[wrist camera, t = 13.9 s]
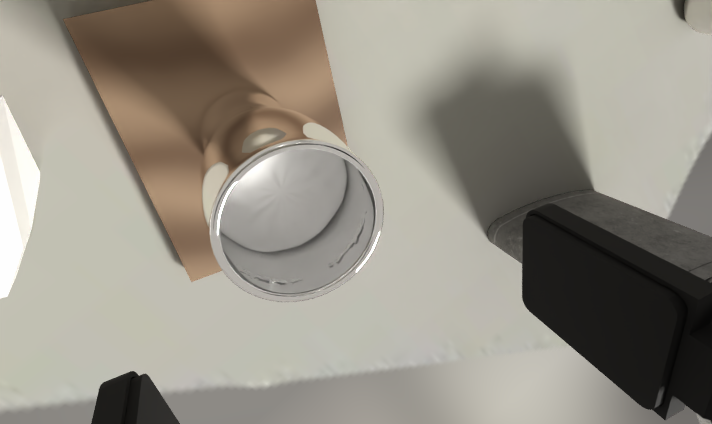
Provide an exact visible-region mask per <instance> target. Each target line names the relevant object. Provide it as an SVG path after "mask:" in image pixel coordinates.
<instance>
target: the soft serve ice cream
mask: <svg viewBox="0 0 712 424" xmlns="http://www.w3.org/2000/svg"><path fill="white" fill-rule="evenodd" d="M39 181H40V171H39V169H38V167H37V165H36V163H35V161H34V159H33V157H32V155H31V153H30V151H29V149H28V147H27V145H26V143H25V141H24V139H23V137H22V134H21V132H20V130H19V128H18V126H17V124H16V122H15V120H14V118H13V116H12V114H11V112H10V110H9V108H8V106H7V104H6V102H5V100H4V98H3V96H2V95H1V96H0V298H3V297H7V296H8V294H9V292H10V289H11V287H12V285H13V282H14V280H15V278H16V275H17V272H18V269H19V266H20V263H21V260H22V257H23V254H24V251H25V248H26V245H27V242H28V239H29V235H30V232H31V229H32V224H33V218H34V212H35V206H36V200H37V194H38V188H39Z"/></svg>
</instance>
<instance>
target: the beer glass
mask: <svg viewBox="0 0 712 424" xmlns="http://www.w3.org/2000/svg"><path fill="white" fill-rule="evenodd" d="M200 141H201V145H202V149H203V151H204V154H203V157H202V160H201V164H200V168H199V200H200V205H201V211H202V215H203V219H204V222H205V226H206V229H207V232H208V235H209V237H210V241H211V246H212V250H213V253H214V256H215V258H216V261H217V263H218V264H219V266H220V268H221V269H222V271H223V272H224V273H225V275H226V276H227V277H228V278H229V279H230V280H231V281H232V282H233V283H234V284H235V285H237V286H238V287H239V288H241V289H242V290H244V291H246V292H247V293H249V294H251V295H254V296H256V297H259V298H262V299H265V300H270V301H277V302H297V301H304V300H309V299H313V298H316V297H319V296H322V295H324V294H327V293H329V292H331V291H333V290H335V289H336V288H338V287H340V286H341V285H343V284H344V283H345V282H347V281H348V280H349V279H351V278H352V277H353V276H354V275H355V274H356V273H357V272H358V271H359V270H360V269H361V268H362V267H363V265H364V264H365V263H366V262H367V260H368V259H369V257H370V256H371V254H372V252H373V250H374V249H375V247H376V244H377V242H378V239H379V237H380V233H381V230H382V225H383V217H384V207H383V199H382V194H381V190H380V187H379V185H378V183H377V180H376V178H375V177H374V175H373V173H372V172H371V170H370V169H369V168H368V166H367V165H366V164H365V163H364V162H363V161H362V160H361V159H360V158H359V157H357V156H356V155H355V154H354V153H353V152H352V151H351V150H350V149H349V148H348V147H347V146H346V145H345V143H344V142H343V141H342V140H341V139H339V138H338V137H337V136H336V135H335V134H334V133H332V132H331V131H330V130H329V129H328V128H326V127H325V126H324V125H322V124H321V123H319V122H317V121H315V120H314V119H312V118H310V117H308V116H307V115H304V114H302V113H300V112H297V111H294V110H290V109H285V108H283V107H282V106H281V105H280V104H279V103H278V102H277V101H276V100H274V99H273V98H272V97H270V96H268V95H266V94H264V93H261V92H258V91H254V90H238V91H233V92H230V93H228V94H225V95H223V96H221V97H220V98H218V99H217V100H216V101H214V102H213V103H212V104H211V106H210V107H209V108H208V109H207V111H206V113H205V115H204V117H203V119H202V122H201V127H200Z"/></svg>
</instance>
